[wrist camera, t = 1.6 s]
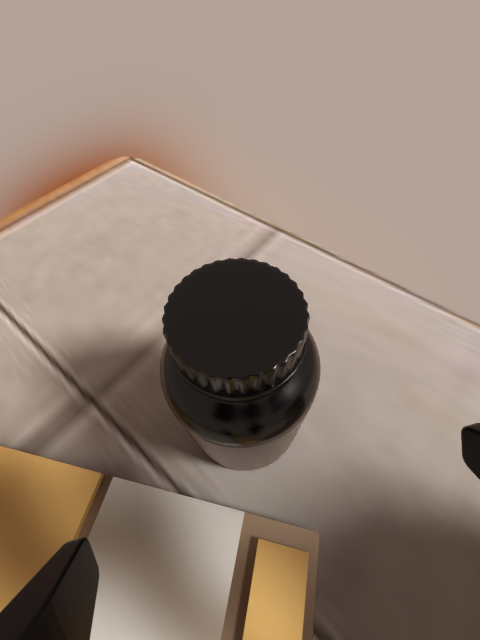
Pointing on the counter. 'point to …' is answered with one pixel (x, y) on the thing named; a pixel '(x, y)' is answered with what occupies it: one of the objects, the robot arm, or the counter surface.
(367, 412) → the counter surface
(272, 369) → the supplement bottle
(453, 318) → the counter surface
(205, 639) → the wooden tray
